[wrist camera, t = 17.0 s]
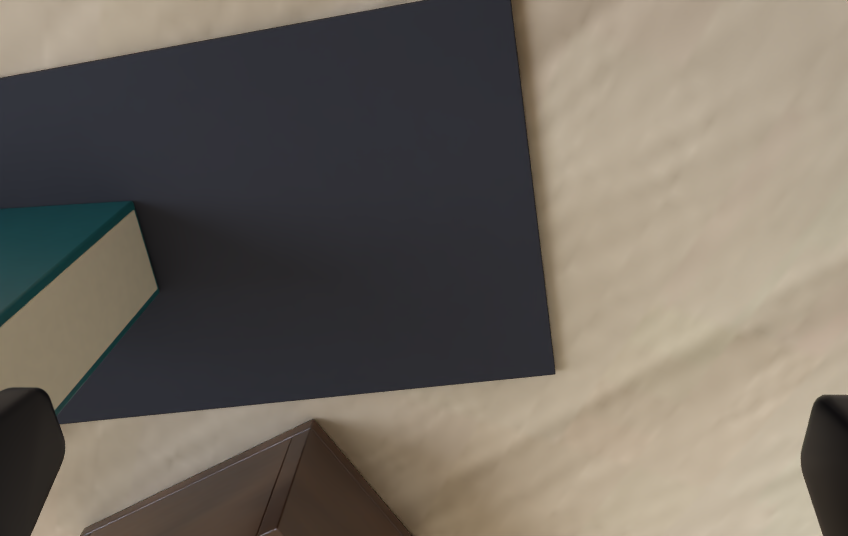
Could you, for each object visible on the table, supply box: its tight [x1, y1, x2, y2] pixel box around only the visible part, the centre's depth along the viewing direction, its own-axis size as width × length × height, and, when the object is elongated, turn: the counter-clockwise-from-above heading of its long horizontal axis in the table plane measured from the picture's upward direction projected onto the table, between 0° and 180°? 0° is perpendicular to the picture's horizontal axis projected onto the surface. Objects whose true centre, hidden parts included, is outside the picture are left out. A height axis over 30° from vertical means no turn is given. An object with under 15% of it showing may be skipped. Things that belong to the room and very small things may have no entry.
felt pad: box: [0, 0, 555, 424], centre depth 22 cm, size 20×12×1 cm, turn 100°
